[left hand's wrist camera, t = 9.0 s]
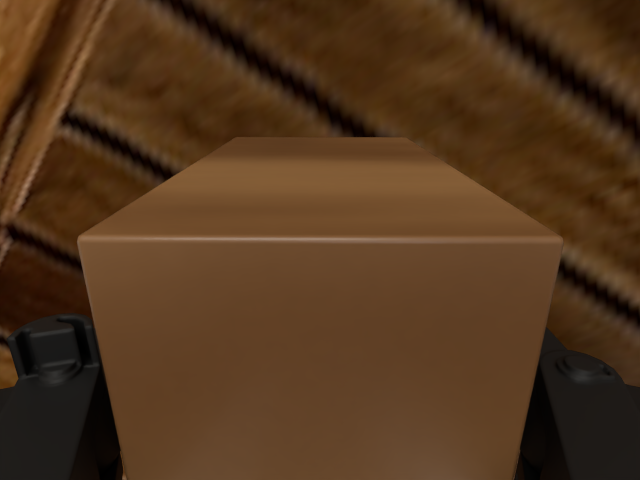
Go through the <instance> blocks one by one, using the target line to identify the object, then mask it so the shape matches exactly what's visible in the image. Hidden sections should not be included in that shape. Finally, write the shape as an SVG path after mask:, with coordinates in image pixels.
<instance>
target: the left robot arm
mask: <svg viewBox="0 0 640 480" xmlns="http://www.w3.org/2000/svg"><path fill="white" fill-rule="evenodd" d="M7 341H8V344H9V348H10V351H11V354H12V358H13V361H14V364H15V368H16V371H17V374H18V378H19V379H18V381H17V383H16V384H15V386H14V387H10V388H5V389H0V480H122V475H123V466H122V459H121V455H120V451H121V449H120V444H119V440H118V435H117V430H116V425H115V420H114V416H113V411H112V406H111V401H110V397H109V392H108V387H107V382H106V378H105V373H104V368H103V363H102V359H101V354H100V349H99V344H98V339H97V335H96V330H95V328H94V329H93V324H92V320H91V319H90V318H89V317H87V316H86V315H82V314H76V313H69V314H57V315H53V316H48V317H44V318H41V319H38V320H35V321H33V322H30V323H28V324H26V325H24V326H22V327H21V328H19V329H17V330H15V331H14V332H13V333H12V334H11V335H10V336H9V337H8V338H7ZM514 480H640V387H635V386H630V385H626V384H624V382H623V380H622V378H621V377H620V376H619V375H618V373H617V372H616V371H615V370H614V369H613V368H612V367H610V366H609V365H607V364H606V363H604V362H603V361H601V360H599V359H597V358H594V357H592V356H590V355H587V354H584V353H580V352H576V351H572V350H567V349H566V348H565V347H564V346H563V345H562V344H561V342H560V341H559V340H558V339H557V338H556V337H555V336H554V335H553V334H552V333H551V332H550V331H549V330H548V328H547V327H546V329H545V333H544V338H543V342H542V347H541V352H540V356H539V361H538V366H537V370H536V375H535V380H534V384H533V389H532V394H531V398H530V403H529V408H528V412H527V417H526V422H525V426H524V431H523V436H522V440H521V445H520V455H519V459H518V464H517V469H516V473H515V478H514Z"/></svg>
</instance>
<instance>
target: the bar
mask: <svg viewBox="0 0 640 480" xmlns="http://www.w3.org/2000/svg"><path fill="white" fill-rule="evenodd" d="M77 244H78V249H79V254H80V258H81V263H82V268H83V273H84V278H85V282H86V287H87V292H88V297H89V301H90V306H91V311H92V316H93V320H94V325H95V330H96V335H97V339H98V344H99V349H100V354H101V359H102V363H103V368H104V373H105V378H106V382H107V387H108V392H109V397H110V401H111V406H112V411H113V416H114V420H115V425H116V430H117V435H118V440H119V444H120V449H121V454H122V459H123V463H124V468H125V473H126V478H127V480H513V478H514V473H515V468H516V464H517V459H518V454H519V450H520V445H521V440H522V436H523V431H524V426H525V422H526V417H527V412H528V408H529V403H530V398H531V394H532V389H533V384H534V380H535V375H536V370H537V366H538V361H539V356H540V352H541V347H542V342H543V338H544V333H545V329H546V324H547V319H548V315H549V310H550V305H551V301H552V296H553V291H554V287H555V282H556V277H557V273H558V268H559V263H560V259H561V254H562V249H563V245H564V243H563V238H562V237H561V236H559V235H558V234H556V233H555V232H553V231H552V230H550V229H549V228H547V227H545V226H544V225H542V224H541V223H539V222H538V221H536V220H534V219H533V218H531V217H530V216H528V215H527V214H525V213H523V212H522V211H520V210H519V209H517V208H516V207H514V206H512V205H511V204H509V203H508V202H506V201H505V200H503V199H501V198H500V197H498V196H497V195H495V194H494V193H492V192H490V191H489V190H487V189H486V188H484V187H483V186H481V185H479V184H478V183H476V182H475V181H473V180H472V179H470V178H468V177H467V176H465V175H464V174H462V173H461V172H459V171H457V170H456V169H454V168H453V167H451V166H450V165H448V164H447V163H445V162H443V161H442V160H440V159H439V158H437V157H436V156H434V155H432V154H431V153H429V152H428V151H426V150H425V149H423V148H421V147H420V146H418V145H417V144H415V143H414V142H412V141H410V140H409V139H407V138H389V137H236V138H234V139H232V140H231V141H229V142H227V143H226V144H224V145H223V146H221V147H219V148H218V149H216V150H215V151H213V152H212V153H210V154H208V155H207V156H205V157H204V158H202V159H200V160H199V161H197V162H196V163H194V164H192V165H191V166H189V167H188V168H186V169H184V170H183V171H181V172H180V173H178V174H177V175H175V176H173V177H172V178H170V179H169V180H167V181H165V182H164V183H162V184H161V185H159V186H157V187H156V188H154V189H153V190H151V191H149V192H148V193H146V194H145V195H143V196H142V197H140V198H138V199H137V200H135V201H134V202H132V203H130V204H129V205H127V206H126V207H124V208H122V209H121V210H119V211H118V212H116V213H114V214H113V215H111V216H110V217H108V218H106V219H105V220H103V221H102V222H100V223H99V224H97V225H95V226H94V227H92V228H91V229H89V230H87V231H86V232H84V233H83V234H81V235H79V237H78V241H77Z"/></svg>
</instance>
